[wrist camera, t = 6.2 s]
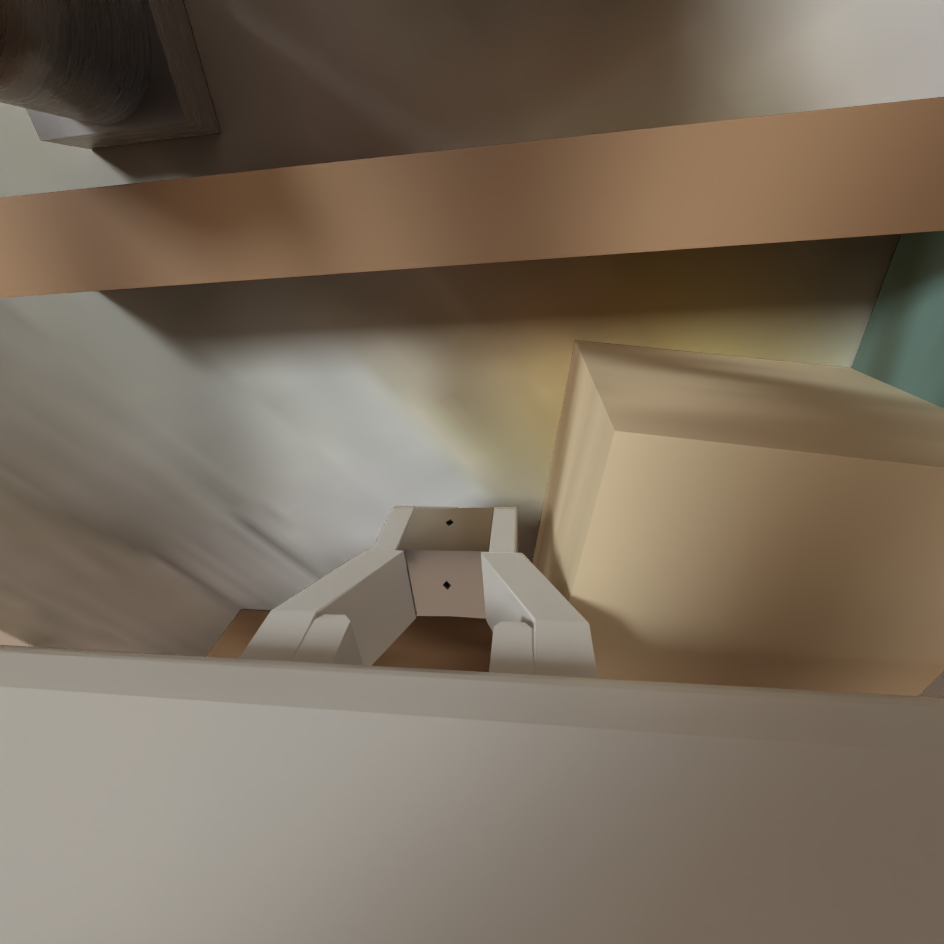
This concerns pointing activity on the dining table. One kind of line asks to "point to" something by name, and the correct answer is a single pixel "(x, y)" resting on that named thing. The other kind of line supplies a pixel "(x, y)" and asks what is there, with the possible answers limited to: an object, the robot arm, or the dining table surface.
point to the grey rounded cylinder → (104, 71)
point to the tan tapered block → (748, 522)
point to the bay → (525, 236)
